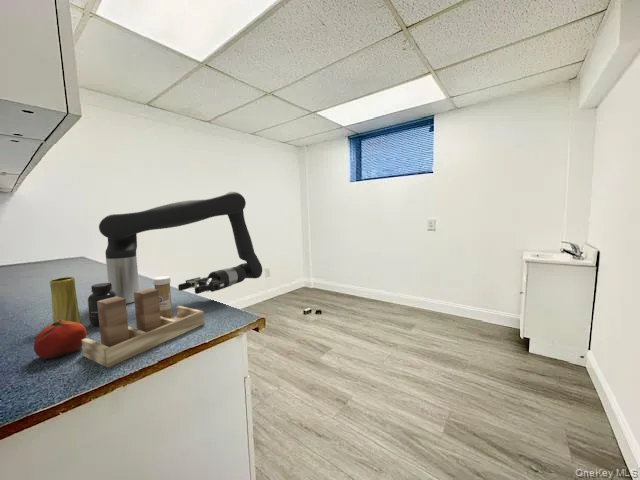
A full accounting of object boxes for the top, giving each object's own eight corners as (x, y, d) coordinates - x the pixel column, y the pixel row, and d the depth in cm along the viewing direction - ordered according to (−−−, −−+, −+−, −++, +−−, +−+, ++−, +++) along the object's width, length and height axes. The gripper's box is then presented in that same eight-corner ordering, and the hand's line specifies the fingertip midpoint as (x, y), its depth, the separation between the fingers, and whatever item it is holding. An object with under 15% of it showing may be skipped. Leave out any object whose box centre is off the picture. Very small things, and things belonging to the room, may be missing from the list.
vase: (47, 330, 76) (41, 282, 74) (62, 322, 82) (57, 277, 80) (72, 328, 77) (67, 280, 76) (85, 320, 83) (81, 276, 81)
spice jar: (154, 322, 81) (151, 279, 80) (158, 316, 85) (155, 276, 84) (171, 320, 82) (168, 278, 81) (174, 314, 87) (171, 275, 85)
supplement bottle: (91, 329, 76) (87, 289, 75) (88, 322, 81) (84, 284, 80) (120, 322, 81) (117, 284, 80) (116, 316, 86) (112, 280, 85)
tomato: (82, 340, 70) (79, 311, 69) (93, 350, 64) (90, 319, 64) (31, 356, 62) (27, 323, 61) (39, 369, 57) (34, 333, 56)
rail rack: (83, 355, 62) (77, 302, 61) (180, 317, 84) (177, 278, 83) (108, 367, 57) (102, 310, 56) (204, 323, 79) (201, 282, 78)
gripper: (210, 268, 108) (173, 276, 93) (236, 271, 102) (200, 281, 87) (210, 285, 109) (174, 297, 94) (236, 290, 102) (202, 302, 88)
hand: (187, 289), depth 91 cm, fingers open, 8 cm apart
